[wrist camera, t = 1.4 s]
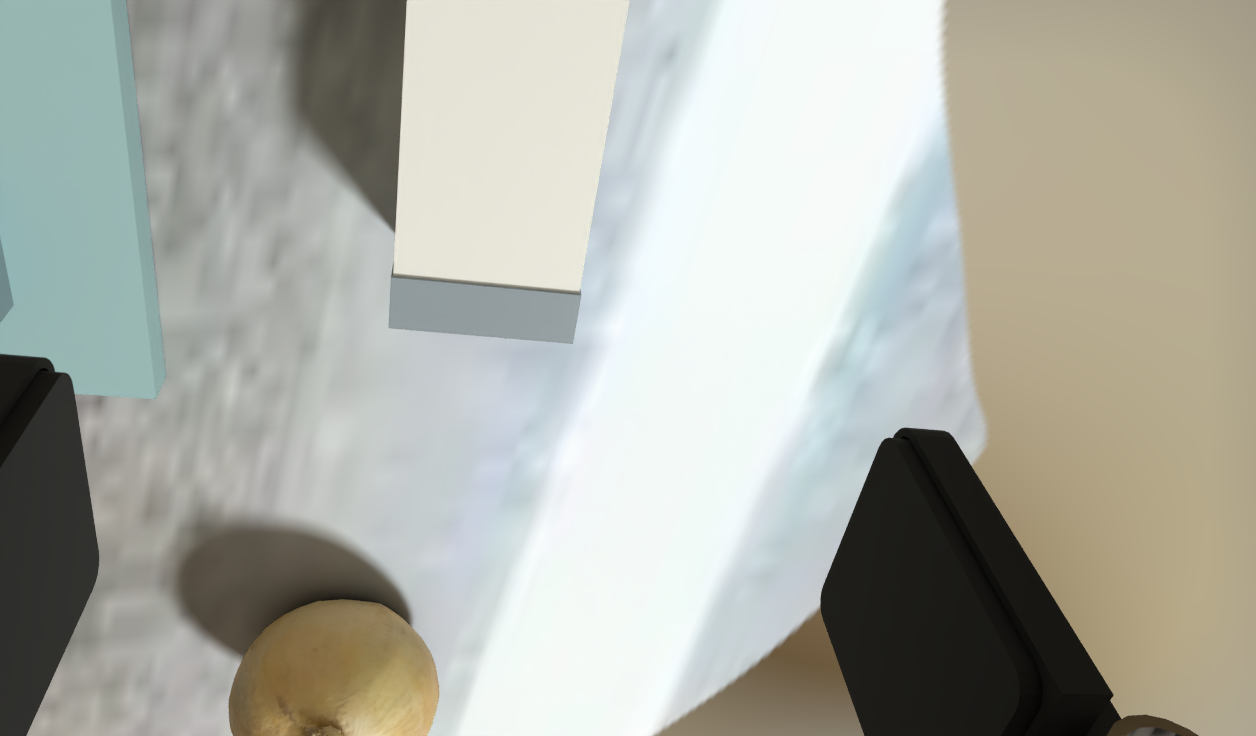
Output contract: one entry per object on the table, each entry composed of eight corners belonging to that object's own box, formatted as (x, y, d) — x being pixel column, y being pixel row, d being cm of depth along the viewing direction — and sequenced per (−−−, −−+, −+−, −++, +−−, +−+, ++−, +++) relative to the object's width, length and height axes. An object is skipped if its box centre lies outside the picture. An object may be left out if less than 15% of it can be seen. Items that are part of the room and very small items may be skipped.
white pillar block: (430, -283, 23) (417, -274, 19) (640, -240, 24) (670, -223, 20) (402, 240, 31) (388, 328, 27) (562, 257, 32) (572, 343, 28)
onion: (476, 657, 43) (473, 809, 37) (320, 719, 44) (294, 875, 38) (374, 544, 38) (354, 697, 33) (204, 616, 40) (155, 777, 34)
